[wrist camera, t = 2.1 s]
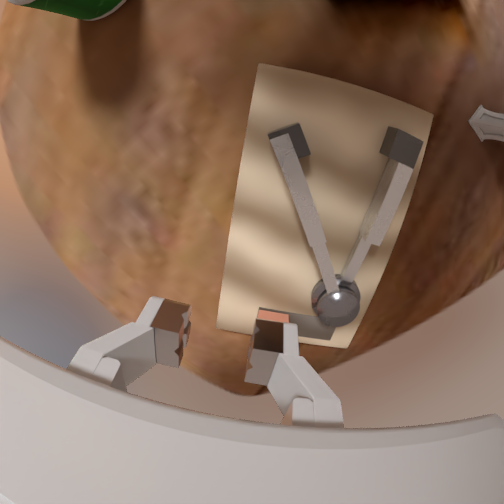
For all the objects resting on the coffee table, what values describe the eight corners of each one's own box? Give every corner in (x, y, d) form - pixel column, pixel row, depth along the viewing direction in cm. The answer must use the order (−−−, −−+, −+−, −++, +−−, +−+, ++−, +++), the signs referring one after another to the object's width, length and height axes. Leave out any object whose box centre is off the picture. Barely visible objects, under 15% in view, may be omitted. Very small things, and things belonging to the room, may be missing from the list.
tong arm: (358, 305, 28) (363, 319, 26) (321, 317, 29) (323, 331, 27) (301, 120, 21) (303, 122, 19) (252, 138, 22) (250, 141, 20)
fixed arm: (345, 318, 29) (349, 332, 27) (303, 307, 29) (305, 322, 27) (427, 146, 21) (439, 150, 19) (380, 122, 20) (390, 124, 18)
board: (259, 65, 21) (258, 62, 19) (425, 113, 21) (434, 114, 19) (218, 318, 33) (215, 328, 31) (345, 339, 33) (347, 349, 31)
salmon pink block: (258, 309, 29) (256, 333, 26) (288, 314, 29) (289, 338, 26) (253, 330, 31) (250, 355, 27) (281, 335, 31) (281, 359, 27)
